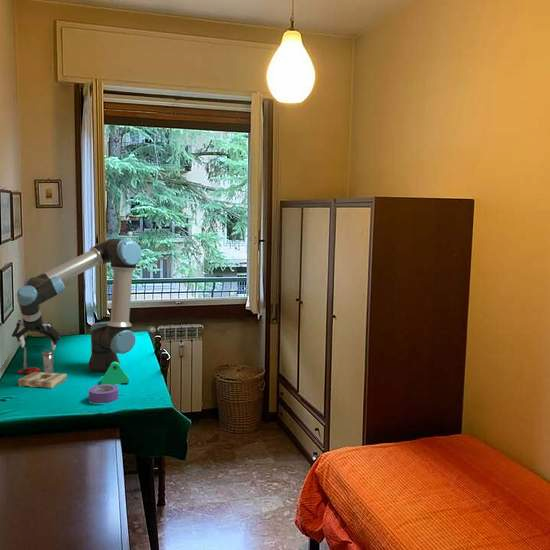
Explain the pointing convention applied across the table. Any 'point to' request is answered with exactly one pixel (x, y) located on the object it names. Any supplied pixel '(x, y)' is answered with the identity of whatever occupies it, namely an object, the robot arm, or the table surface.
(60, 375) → the jig
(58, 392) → the table surface
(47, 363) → the domed cap cylinder
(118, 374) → the green triangle
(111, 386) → the tape roll
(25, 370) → the tow hook
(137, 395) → the table surface
